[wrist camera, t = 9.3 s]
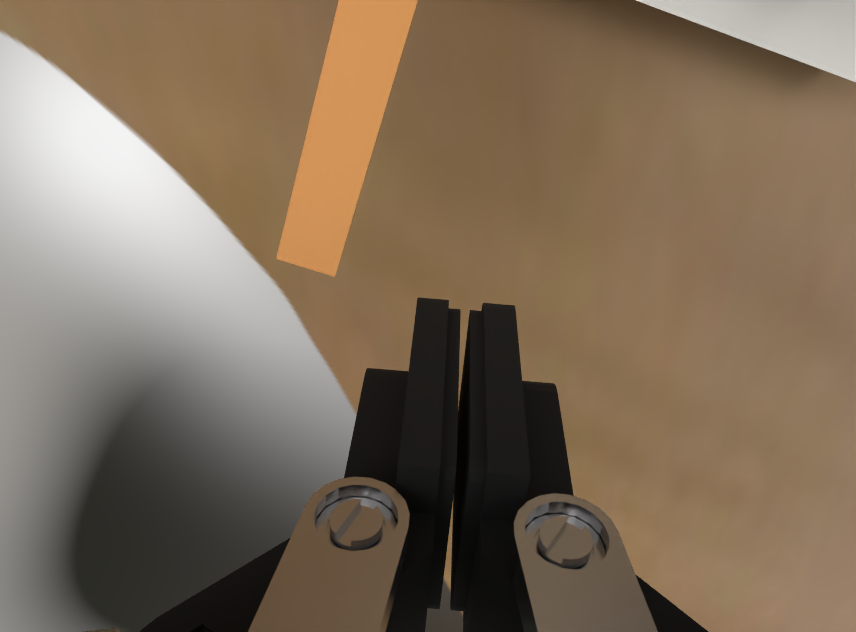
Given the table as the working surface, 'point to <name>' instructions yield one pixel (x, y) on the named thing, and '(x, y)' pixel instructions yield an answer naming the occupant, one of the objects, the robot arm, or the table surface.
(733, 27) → the socket block
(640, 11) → the table surface
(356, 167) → the orange piece
